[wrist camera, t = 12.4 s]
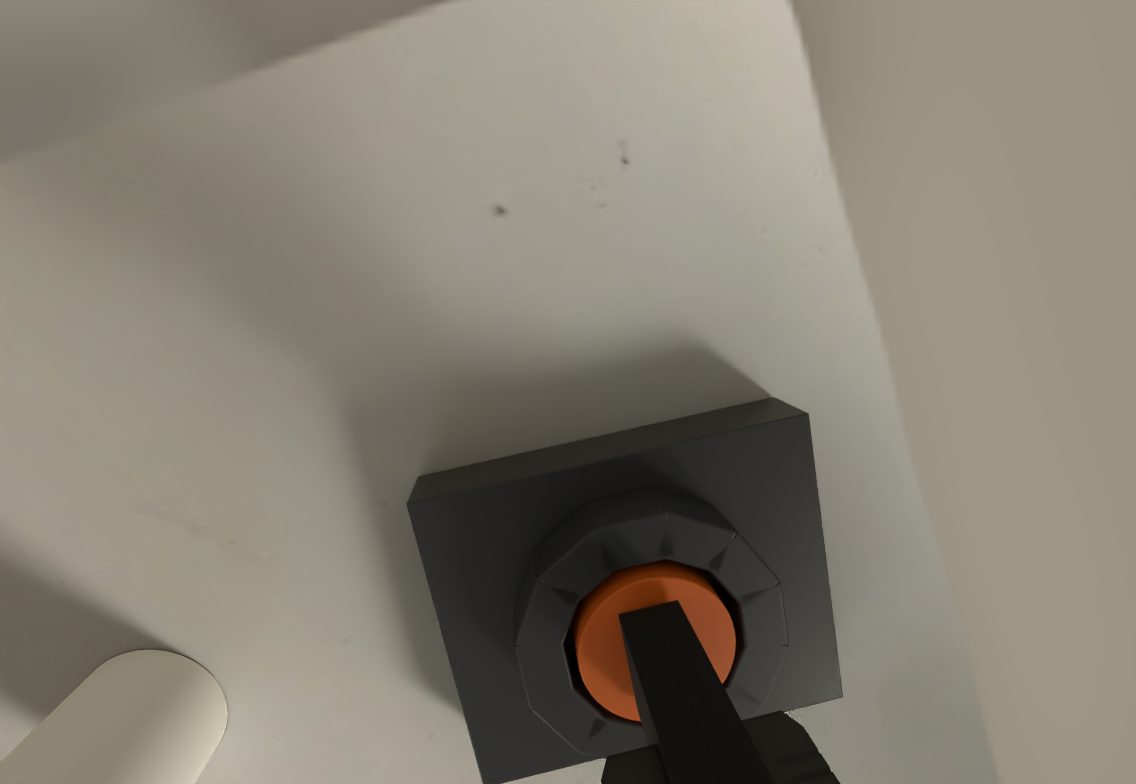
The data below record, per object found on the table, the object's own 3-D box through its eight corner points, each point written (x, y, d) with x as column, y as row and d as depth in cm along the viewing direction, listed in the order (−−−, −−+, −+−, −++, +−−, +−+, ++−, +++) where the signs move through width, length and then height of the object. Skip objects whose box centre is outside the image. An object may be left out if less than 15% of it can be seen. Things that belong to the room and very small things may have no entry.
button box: (774, 396, 19) (844, 429, 15) (808, 653, 21) (878, 742, 17) (417, 476, 18) (393, 532, 14) (486, 733, 20) (481, 844, 16)
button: (701, 531, 17) (724, 560, 15) (723, 659, 18) (746, 701, 16) (557, 565, 17) (563, 599, 15) (586, 693, 17) (594, 739, 16)
